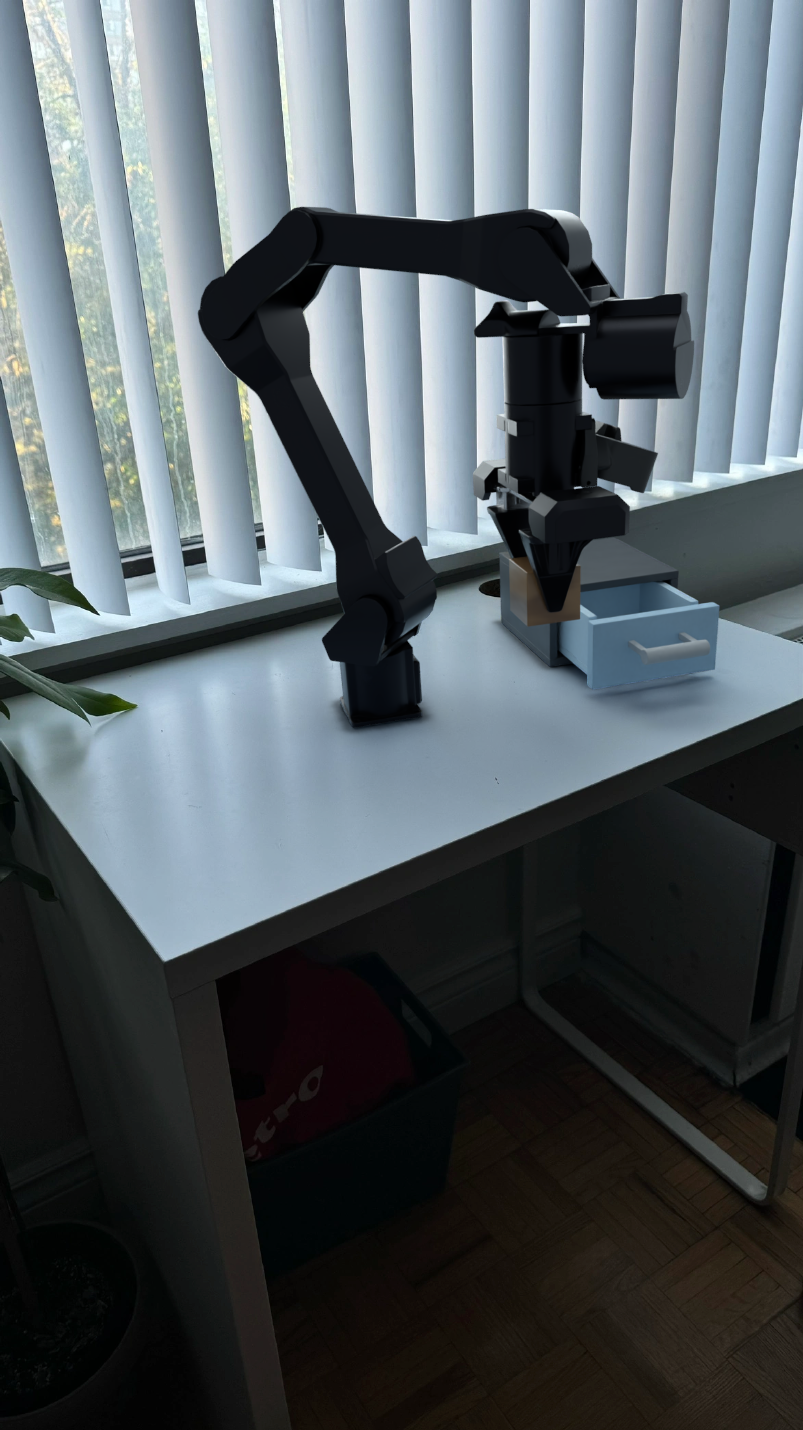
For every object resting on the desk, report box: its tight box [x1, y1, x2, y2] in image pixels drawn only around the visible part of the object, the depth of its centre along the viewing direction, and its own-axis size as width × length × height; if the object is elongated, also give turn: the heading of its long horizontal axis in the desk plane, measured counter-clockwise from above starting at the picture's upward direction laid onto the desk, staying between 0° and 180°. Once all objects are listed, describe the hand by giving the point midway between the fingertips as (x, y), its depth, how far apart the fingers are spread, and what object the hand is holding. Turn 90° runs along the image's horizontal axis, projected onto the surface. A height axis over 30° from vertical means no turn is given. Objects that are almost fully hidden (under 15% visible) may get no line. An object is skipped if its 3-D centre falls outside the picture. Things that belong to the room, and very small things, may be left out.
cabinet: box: [498, 537, 680, 668], centre depth 103 cm, size 15×14×8 cm
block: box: [509, 556, 581, 627], centre depth 78 cm, size 4×4×4 cm
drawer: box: [557, 581, 720, 690], centre depth 93 cm, size 18×12×6 cm
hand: (544, 602), depth 78 cm, fingers closed on block, 4 cm apart
